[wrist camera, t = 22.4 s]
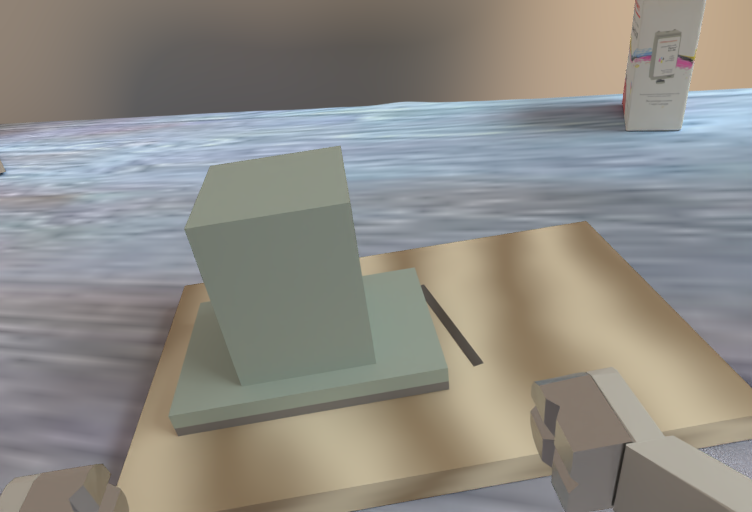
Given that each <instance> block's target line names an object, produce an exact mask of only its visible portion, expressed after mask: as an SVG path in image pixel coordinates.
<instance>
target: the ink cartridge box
mask: <svg viewBox="0 0 752 512" xmlns="http://www.w3.org/2000/svg"><path fill="white" fill-rule="evenodd" d="M705 4H706V0H635V7H634V16H633V25H632V33H631V41H630V48H629V56H628V63H627V70H626V78H625V86H624V93H623V101H622V104H623V111H624V119H625V127H626V131H660V130H681V127H682V123H683V118H684V113H685V108H686V102H687V97H688V92H689V86H690V81H691V76H692V71H693V66H694V61H695V55H696V50H697V45H698V40H699V35H700V30H701V25H702V20H703V14H704V9H705Z"/></svg>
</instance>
